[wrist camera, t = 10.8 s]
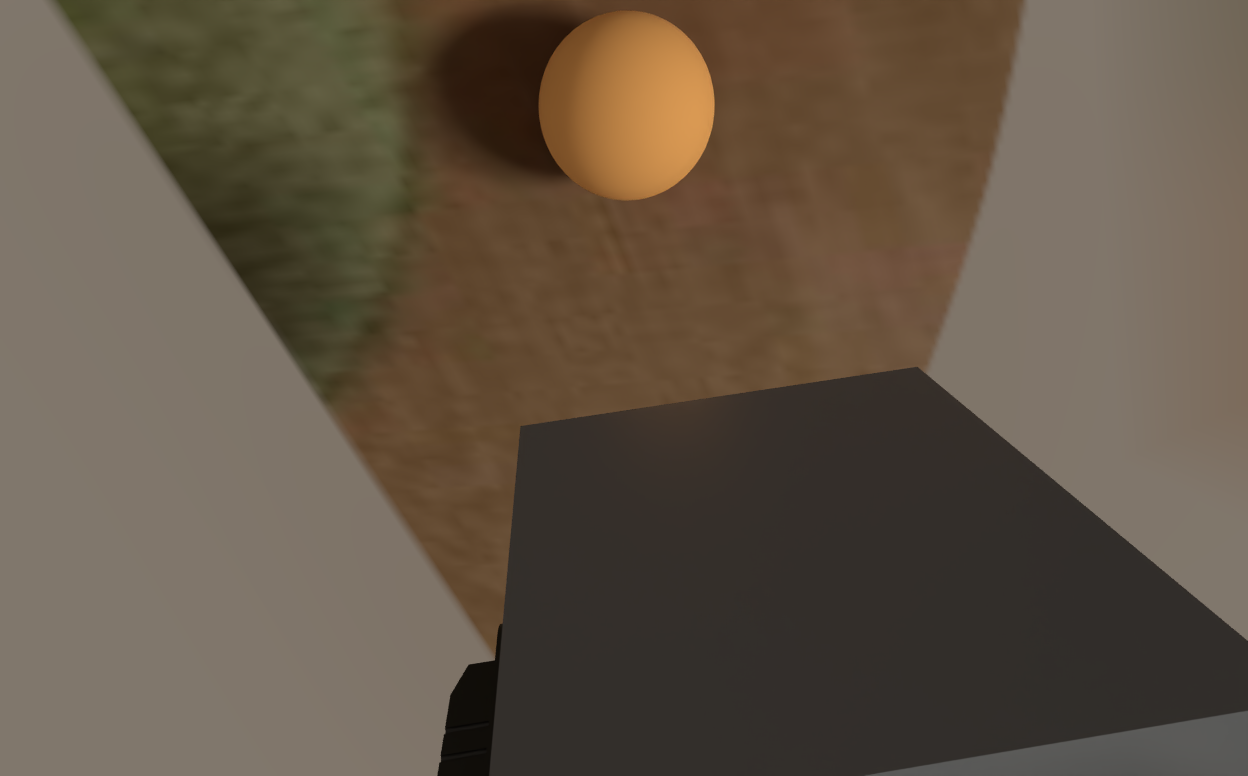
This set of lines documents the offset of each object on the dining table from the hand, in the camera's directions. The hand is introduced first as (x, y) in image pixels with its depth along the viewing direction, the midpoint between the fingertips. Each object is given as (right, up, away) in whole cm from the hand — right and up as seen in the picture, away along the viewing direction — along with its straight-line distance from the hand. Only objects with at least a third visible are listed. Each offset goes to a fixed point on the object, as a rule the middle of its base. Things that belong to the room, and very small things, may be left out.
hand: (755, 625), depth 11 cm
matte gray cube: (0, +1, +2) cm, 2 cm away
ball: (-2, +12, +9) cm, 15 cm away
